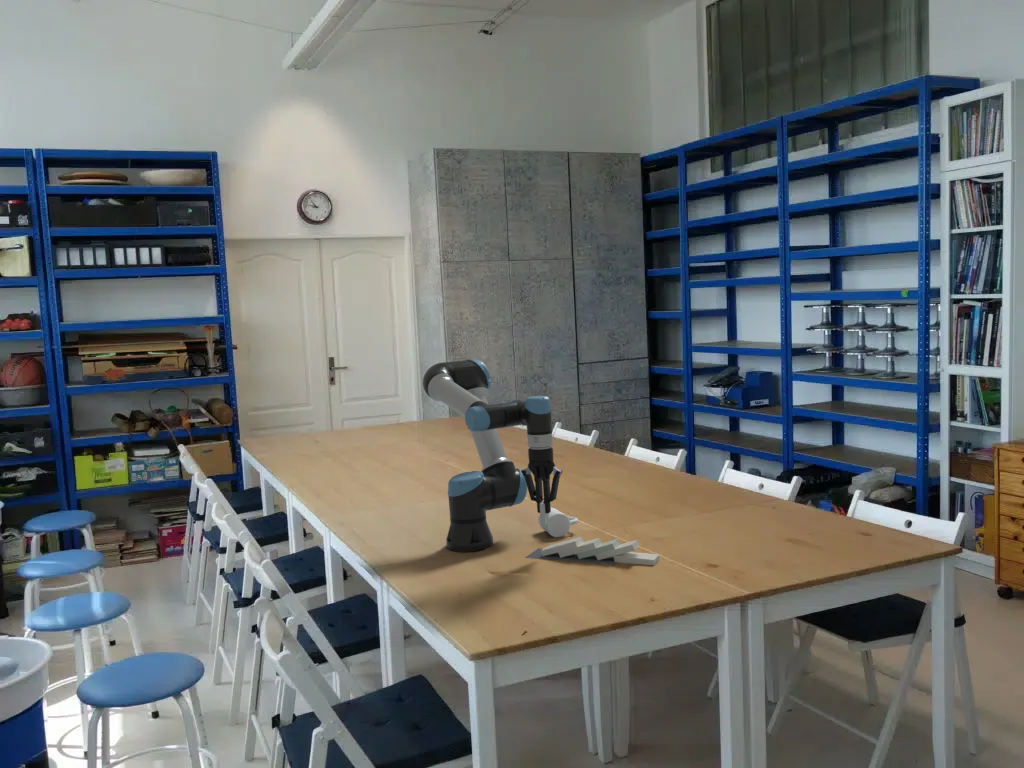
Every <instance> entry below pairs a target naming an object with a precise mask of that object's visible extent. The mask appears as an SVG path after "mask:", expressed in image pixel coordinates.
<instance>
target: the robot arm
mask: <svg viewBox="0 0 1024 768" xmlns="http://www.w3.org/2000/svg"><path fill="white" fill-rule="evenodd" d="M422 387H423V391H424V393H425V394H426V395H427V396H428V397H429V398H431V399H432V400H434V401H436V402H442V403H443V404H445V405H446V406H447V407H449V408H450V409H451V410H453V411H454V412H456V413H457V414H458V415H460V416H461V417H463V418H464V421H465V425H466V426H467V429H468V430H469V431H470V433H471V436H472V439H473V442H474V445H475V447H476V451H477V453H478V457H479V460H480V463H481V466H482V469H481V470H479V471H478V470H472V471H464V472H461V473H458V474H455V475H453V476H452V477H451V478H450V479H449V480H448V484H447V485H448V486H447V496H448V508H449V509H448V510H449V521H450V524H449V528H448V532H447V536H446V540H445V541H446V542H445V543H446V549H448V550H449V551H452V552H459V553H461V552H463V553H469V552H470V553H471V552H477V551H483V550H486V549H488V548H491V547H492V546H493V545H494V537H493V534H492V531H491V528H490V527H489V524H488V522H487V511H492V510H496V509H501V508H508V507H510V508H511V507H513V506H516V505H519V504H521V503H523V502H524V500H525V498H526V496H527V494H528V493H529V494H528V495H529V498H530V500H531V502H533V501H534V502H536V507H537V510H536V512H537V513H538V514H539V515H540V519H541V524H542V525H546V524H547V523H549V518H548V513H550V511H551V508H552V507H551V503H552V502H554V501H555V500H556V499H557V495H558V490H559V489H558V488H559V483H560V478H561V476H562V474H563V469H558V468H557V467H556V464H555V462H554V448H553V447H552V446H553V443H554V442H553V427H552V426H553V425H552V423H553V422H552V407H551V399H550V397H548V396H546V395H532V396H528V397H526V398H525V400H521V399H513V400H510V401H508V402H503V403H502V402H501V403H495V404H489V402H488V399H487V396H488V394H489V389H490V387H491V374H490V372H489V369H488V367H487V366H486V364H485V363H484V362H482V361H481V360H480V359H470V358H468V359H465V360H454V361H445V362H444V361H443V362H438V363H435V364H433V365H431V366H430V367H429V368H428V369H427V370H426V372H425V373H424V376H423V377H422ZM517 426H518V427H519V426H525V427H526V436H527V437H526V438H527V447H528V448H527V449H528V450H527V452H528V456H527V457H528V464H527V467H525V468H523V469H522V468H516V466H515V462H514V461H513V460H510V459H508V457H507V454H506V450H505V448H504V446H503V443H502V439H501V437H500V435H499V432H498V431H499V430H498V429H503V428H510V427H517ZM532 475H533V476H532ZM551 475H553V477H552V482H551V481H550V479H551ZM533 479H534V480H533ZM550 482H551V484H550Z"/></svg>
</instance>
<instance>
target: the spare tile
mask: <svg viewBox="0 0 1024 768" xmlns="http://www.w3.org/2000/svg"><path fill="white" fill-rule="evenodd" d="M620 544H621V542H620V539H619V538H615V539H612V540H608V541H606V542H601V544H600V545H599V546H598V547H597V548H595V549H591V550H588V551H584V552H580V553H577V555H578V558H579V559H582V558H585V557H589V556H593V555H596V554H600V553H603V552H607V551H611V550H614V549H616V548H617V547H618V546H619V545H620Z"/></svg>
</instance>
